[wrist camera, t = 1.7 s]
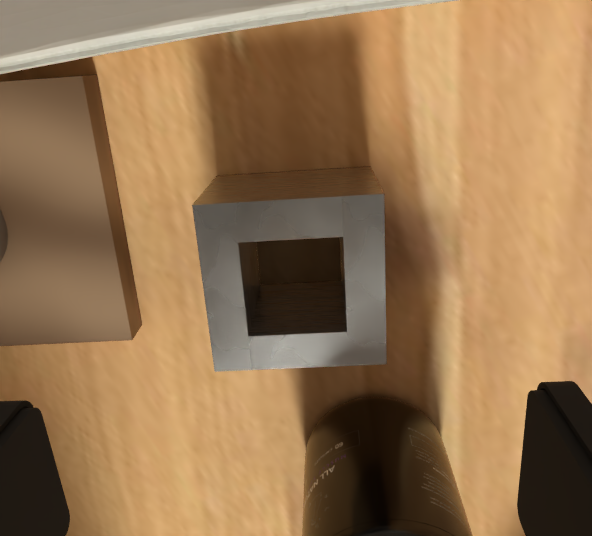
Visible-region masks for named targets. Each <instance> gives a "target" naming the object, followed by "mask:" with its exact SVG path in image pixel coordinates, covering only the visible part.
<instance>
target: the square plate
mask: <svg viewBox="0 0 592 536" xmlns="http://www.w3.org/2000/svg"><path fill="white" fill-rule="evenodd" d="M448 1H457V0H0V74H5V73H10V72H15V71H20V70H25V69H30V68H35V67H40V66H46V65H51V64H57V63H62V62H67V61H73V60H78V59H83V58H88V57H93V56H98V55H103V54H108V53H114V52H120V51H125V50H131V49H137V48H142V47H147V46H153V45H158V44H163V43H168V42H174V41H179V40H184V39H190V38H196V37H202V36H208V35H214V34H220V33H226V32H232V31H239V30H245V29H251V28H258V27H264V26H271V25H277V24H284V23H291V22H297V21H304V20H311V19H318V18H325V17H332V16H339V15H346V14H353V13H360V12H368V11H376V10H384V9H391V8H399V7H407V6H415V5H424V4H432V3H440V2H448Z"/></svg>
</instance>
